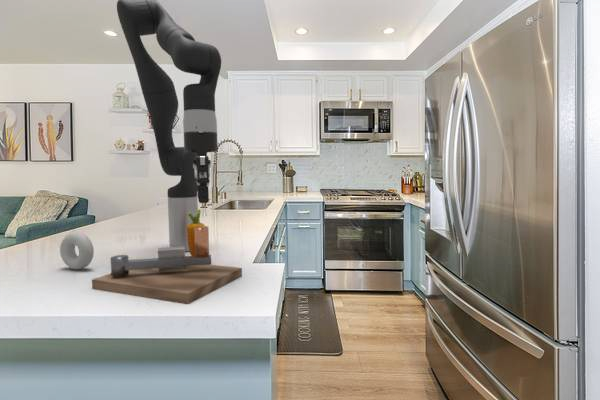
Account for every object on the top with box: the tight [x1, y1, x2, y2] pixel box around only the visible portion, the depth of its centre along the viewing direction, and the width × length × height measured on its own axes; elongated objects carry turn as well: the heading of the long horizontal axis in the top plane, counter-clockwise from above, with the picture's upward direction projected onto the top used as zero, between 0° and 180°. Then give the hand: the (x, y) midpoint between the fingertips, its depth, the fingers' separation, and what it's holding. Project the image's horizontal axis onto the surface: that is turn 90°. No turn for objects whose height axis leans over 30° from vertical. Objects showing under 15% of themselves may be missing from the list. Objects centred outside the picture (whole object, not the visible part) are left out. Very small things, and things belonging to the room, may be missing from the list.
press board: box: [91, 246, 243, 304], centre depth 85 cm, size 20×26×7 cm
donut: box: [59, 231, 95, 271], centre depth 97 cm, size 10×4×10 cm, turn 71°
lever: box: [110, 225, 212, 277], centre depth 85 cm, size 4×22×10 cm, turn 105°
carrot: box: [187, 208, 206, 256], centre depth 102 cm, size 5×5×15 cm
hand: (203, 201), depth 87 cm, fingers open, 8 cm apart
